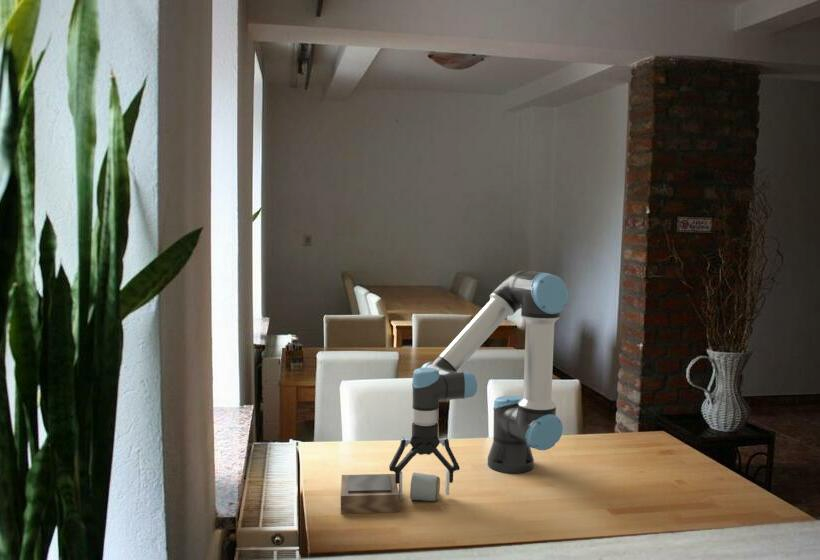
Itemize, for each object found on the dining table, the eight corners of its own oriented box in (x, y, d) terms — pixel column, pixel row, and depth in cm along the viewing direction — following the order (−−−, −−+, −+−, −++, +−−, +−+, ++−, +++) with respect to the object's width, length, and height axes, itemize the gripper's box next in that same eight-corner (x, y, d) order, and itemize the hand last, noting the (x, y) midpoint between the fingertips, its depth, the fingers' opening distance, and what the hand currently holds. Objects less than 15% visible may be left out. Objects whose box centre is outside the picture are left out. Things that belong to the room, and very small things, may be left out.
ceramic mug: (438, 505, 207) (438, 478, 207) (409, 503, 208) (409, 477, 207) (441, 491, 218) (441, 466, 217) (413, 490, 219) (414, 465, 218)
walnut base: (395, 490, 218) (395, 471, 218) (398, 512, 202) (398, 492, 202) (341, 491, 217) (341, 472, 216) (340, 513, 201) (340, 493, 201)
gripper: (466, 418, 214) (464, 488, 216) (381, 418, 212) (380, 489, 214) (470, 425, 207) (468, 497, 209) (382, 426, 205) (381, 499, 207)
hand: (423, 493), depth 212 cm, fingers open, 13 cm apart
